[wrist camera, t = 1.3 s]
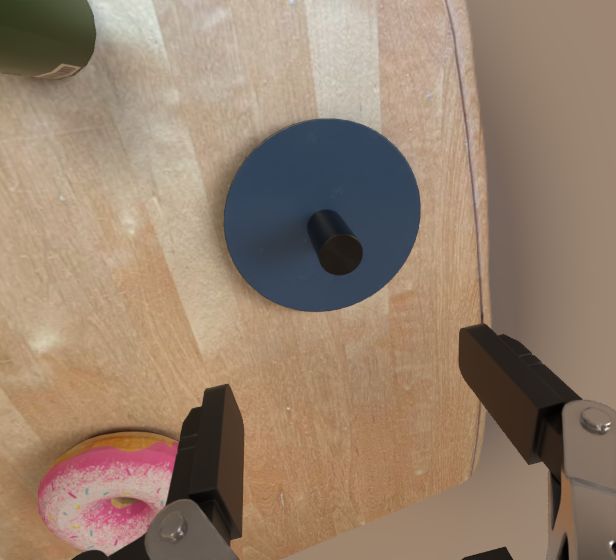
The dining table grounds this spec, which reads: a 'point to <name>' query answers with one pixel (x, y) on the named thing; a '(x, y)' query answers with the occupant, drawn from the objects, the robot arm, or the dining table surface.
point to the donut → (107, 489)
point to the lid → (322, 215)
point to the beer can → (45, 37)
